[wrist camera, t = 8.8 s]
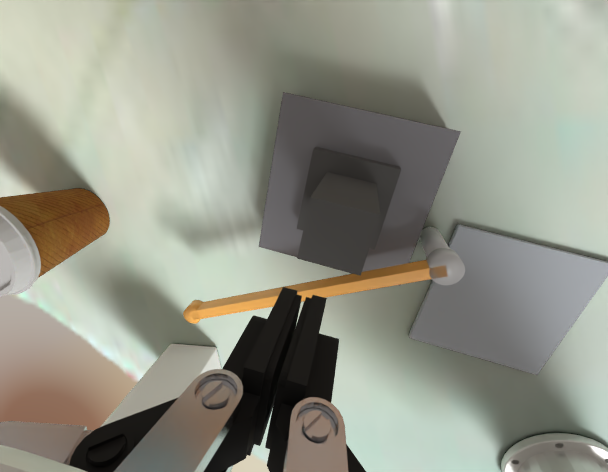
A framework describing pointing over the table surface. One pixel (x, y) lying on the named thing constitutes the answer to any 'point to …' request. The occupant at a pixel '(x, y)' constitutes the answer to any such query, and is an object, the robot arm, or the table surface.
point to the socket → (367, 144)
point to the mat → (508, 299)
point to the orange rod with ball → (340, 285)
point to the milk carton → (167, 378)
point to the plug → (344, 208)
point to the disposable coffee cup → (45, 233)
